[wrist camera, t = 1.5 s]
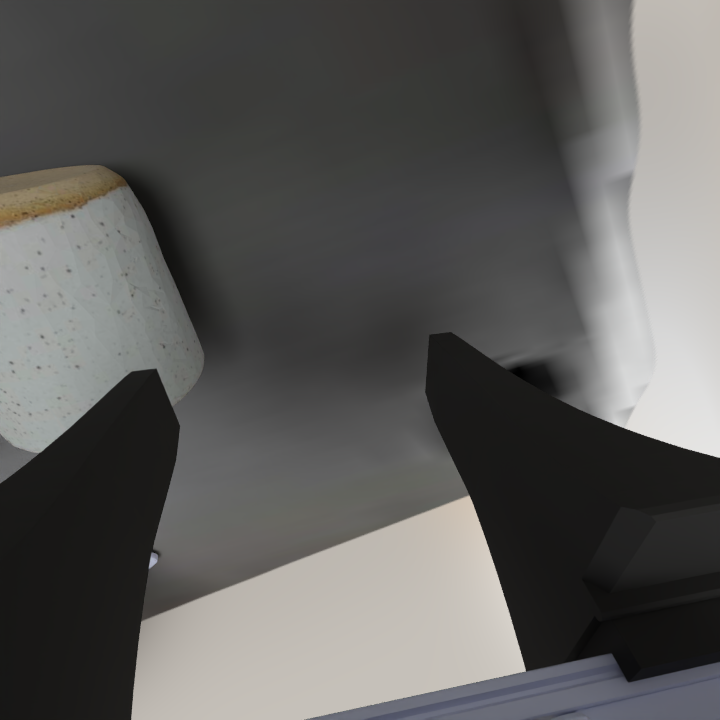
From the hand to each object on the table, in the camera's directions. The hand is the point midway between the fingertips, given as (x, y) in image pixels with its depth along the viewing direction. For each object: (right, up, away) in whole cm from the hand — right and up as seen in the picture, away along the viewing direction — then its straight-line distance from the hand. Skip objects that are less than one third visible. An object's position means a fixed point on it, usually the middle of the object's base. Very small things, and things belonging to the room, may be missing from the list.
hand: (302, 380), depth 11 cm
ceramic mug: (-11, +4, +7) cm, 14 cm away
